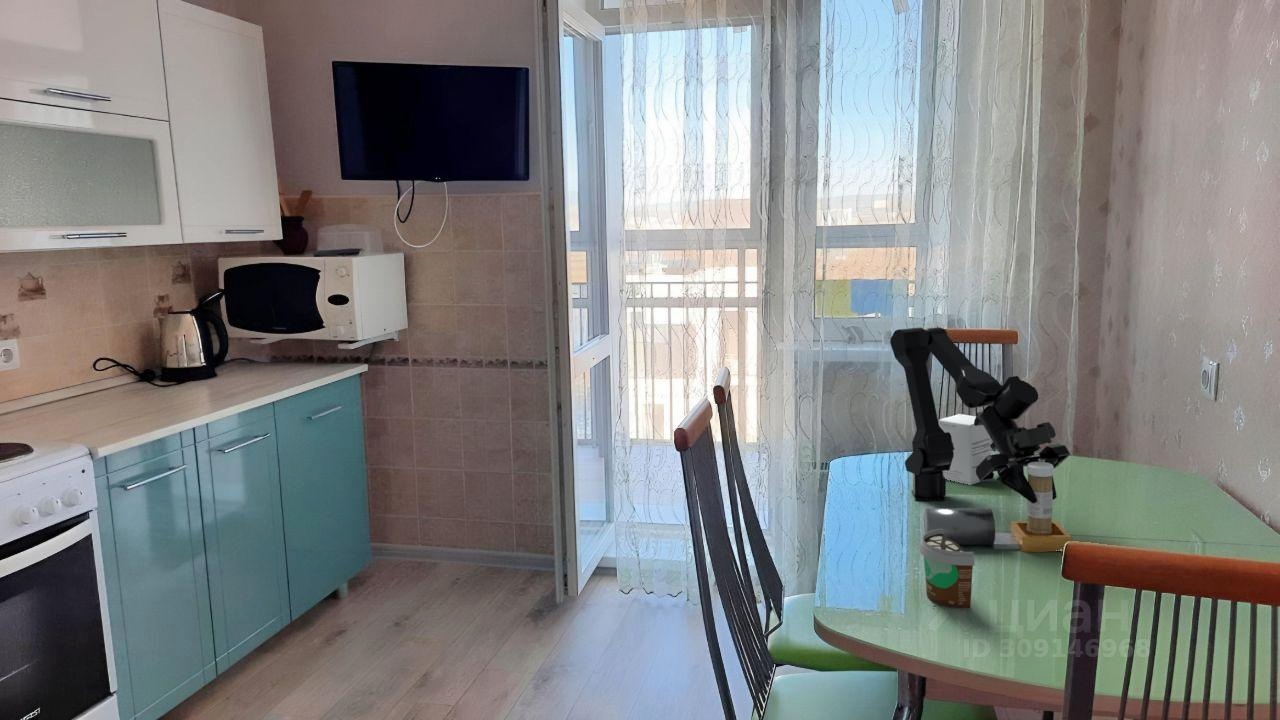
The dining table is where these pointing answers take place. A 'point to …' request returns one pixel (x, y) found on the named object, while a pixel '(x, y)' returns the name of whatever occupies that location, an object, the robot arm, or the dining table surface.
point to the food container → (946, 570)
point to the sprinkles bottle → (1040, 498)
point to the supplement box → (966, 447)
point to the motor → (991, 530)
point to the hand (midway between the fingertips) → (1045, 500)
